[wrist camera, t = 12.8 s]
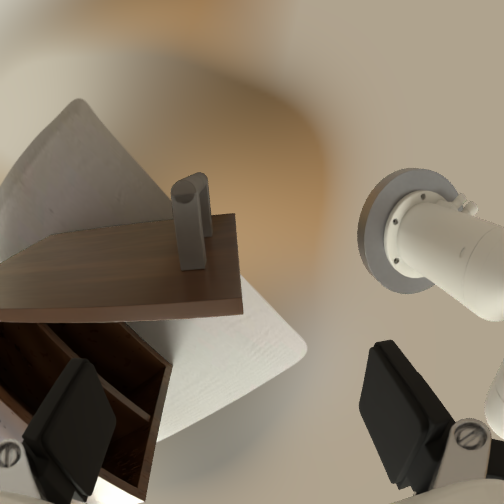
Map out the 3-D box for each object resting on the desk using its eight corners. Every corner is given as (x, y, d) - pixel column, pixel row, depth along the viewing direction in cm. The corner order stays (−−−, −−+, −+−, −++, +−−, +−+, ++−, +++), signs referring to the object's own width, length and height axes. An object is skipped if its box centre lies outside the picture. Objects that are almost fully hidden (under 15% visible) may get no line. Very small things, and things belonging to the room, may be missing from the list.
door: (44, 194, 36) (-86, 240, 13) (231, 166, 37) (231, 180, 14) (53, 241, 38) (-64, 317, 15) (235, 221, 39) (243, 314, 16)
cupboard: (50, 241, 38) (-68, 317, 15) (172, 366, 45) (145, 501, 22) (5, 307, 40) (-79, 386, 17) (109, 409, 47) (72, 516, 24)
